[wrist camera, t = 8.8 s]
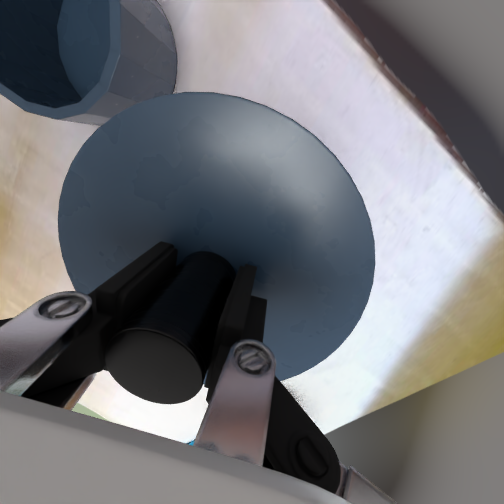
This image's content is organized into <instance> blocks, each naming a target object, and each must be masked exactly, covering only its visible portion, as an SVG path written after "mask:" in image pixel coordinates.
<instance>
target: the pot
mask: <svg viewBox="0 0 504 504" xmlns="http://www.w3.org/2000/svg"><path fill="white" fill-rule="evenodd" d="M176 74H177V56H176V48H175V42H174V38H173V34H172V31H171V28H170V25H169V23H168V20H167V18H166V16H165V14H164V12H163V10H162V8H161V6H160V5H159V3H158V2H157V0H0V94H2V95H3V96H4V97H6V98H7V99H9V100H10V101H12V102H13V103H14V104H16V105H17V106H19V107H20V108H22V109H23V110H24V111H27V112H30V113H33V114H37V115H41V116H45V117H49V118H53V119H56V120H63V121H70V122H77V123H84V124H91V125H98V126H102V125H103V124H104V123H106V122H107V121H108V120H109V119H111V118H112V117H113V116H115V115H116V114H118V113H120V112H122V111H124V110H125V109H127V108H129V107H131V106H133V105H135V104H137V103H140V102H143V101H146V100H149V99H152V98H155V97H158V96H162V95H169V94H172V93H173V89H174V86H175V81H176Z"/></svg>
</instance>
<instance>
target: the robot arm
mask: <svg viewBox="0 0 504 504" xmlns="http://www.w3.org/2000/svg"><path fill="white" fill-rule="evenodd" d="M177 254H178V250H177V249H176V248H175V247H174V245H173V244H170V243H166V242H162V241H160V242H159V243H157V244H156V245H155V246H153V247H152V248H150V249H149V250H148V251H146V252H145V253H144V254H142V255H141V256H140V257H138V258H137V259H135V260H134V261H133V262H131V263H130V264H129V265H127V266H126V267H124V268H123V269H122V270H120V271H119V272H118V273H116V274H115V275H114V276H112V277H111V278H109V279H108V280H107V281H105V282H104V283H103V284H101V285H100V286H98V287H97V288H96V289H95V290H94V291H92V292H91V293H89V294H88V295H87V294H85V293H82V292H76V291H65V292H59V293H54V294H52V295H49V296H46V297H44V298H42V299H41V300H39V301H37V302H36V303H34V304H33V305H32V306H30V307H29V308H27V309H26V310H24V311H23V312H21V313H20V314H19V315H17V316H16V317H14V318H9V319H4V320H0V504H398V503H396V502H395V501H394V500H393V499H391V498H390V497H389V496H388V495H387V494H385V493H384V492H383V491H382V490H380V489H379V488H378V487H377V486H376V485H374V484H373V483H372V482H371V481H369V480H368V479H367V478H366V477H365V476H363V475H362V474H361V473H360V472H358V471H357V470H356V469H355V468H354V467H352V466H351V465H350V466H349V467H348V468H347V467H346V466H344V465H343V464H342V463H341V462H340V461H339V460H338V457H337V455H336V452H335V450H334V448H333V447H332V445H331V444H330V442H329V441H328V439H327V438H326V437H325V436H324V434H323V433H322V432H321V431H320V429H319V428H318V427H317V426H316V425H315V423H314V422H313V421H312V420H311V419H310V417H309V416H308V415H307V414H306V412H305V411H304V410H303V409H302V408H301V406H300V405H299V404H298V403H297V401H296V400H295V399H294V398H293V397H292V395H291V394H290V393H289V392H288V390H287V389H286V388H285V387H284V386H283V384H282V383H281V382H280V381H279V379H278V378H277V377H276V376H275V370H276V359H275V356H274V354H273V352H272V351H271V350H270V348H269V347H268V346H266V345H265V344H264V343H263V336H264V327H265V318H266V308H267V299H263V298H260V297H256V296H252V295H251V293H252V288H253V284H254V279H255V275H256V270H257V267H256V266H252V265H248V264H245V267H243V266H240V267H239V270H238V272H237V275H236V278H235V280H234V283H233V286H232V288H231V291H230V294H229V296H228V299H227V301H226V304H225V307H224V309H223V312H222V315H221V317H220V320H219V324H218V327H217V332H216V336H215V341H214V345H213V350H212V359H211V362H210V365H209V368H208V372H207V377H206V381H205V386H204V387H206V388H209V389H208V393H207V398H206V401H207V403H208V404H209V405H208V408H207V410H206V413H205V415H204V418H203V421H202V423H201V426H200V428H199V431H198V434H197V436H196V439H195V441H194V444H193V446H192V445H189V444H185V443H182V442H178V441H175V440H171V439H168V438H164V437H161V436H158V435H154V434H151V433H147V432H144V431H140V430H137V429H133V428H130V427H126V426H123V425H119V424H116V423H112V422H109V421H105V420H102V419H98V418H95V417H91V416H87V415H84V414H81V413H77V412H73V411H71V410H72V409H73V408H74V406H75V405H76V403H77V402H78V401H79V399H80V398H81V396H82V395H83V394H84V392H85V391H86V389H87V388H88V387H89V385H90V384H91V383H92V381H93V380H94V378H95V376H96V373H97V372H100V371H102V370H106V371H108V369H107V366H106V363H105V359H104V351H105V347H106V344H107V342H108V341H109V339H110V338H111V337H112V336H113V335H114V334H115V333H116V331H117V330H118V329H119V328H120V327H121V326H122V325H123V324H124V323H125V322H126V321H127V320H128V318H129V317H130V316H131V315H132V314H133V313H134V312H135V311H136V310H137V309H138V308H139V307H140V306H141V304H142V303H143V302H144V301H145V300H146V299H147V298H148V297H149V296H150V295H151V294H152V293H153V291H154V290H155V289H156V288H157V287H158V286H159V285H160V284H161V283H162V282H163V281H164V280H165V279H166V277H167V276H168V275H169V274H170V273H171V272H172V271H173V270H174V269H175V268H176V263H177Z"/></svg>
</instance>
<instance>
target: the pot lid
mask: <svg viewBox="0 0 504 504" xmlns="http://www.w3.org/2000/svg"><path fill="white" fill-rule="evenodd" d="M58 232H59V242H60V247H61V252H62V257H63V260H64V263H65V266H66V269H67V273H68V275H69V277H70V279H71V282H72V284H73V286H74V288H75V290H76V292H82V293H85V294H87V295H88V294H89V293H91V292H92V291H94V290H95V289H96V288H97V287H98V286H100V285H101V284H103V283H104V282H105V281H107V280H108V279H109V278H111V277H112V276H114V275H115V274H116V273H118V272H119V271H120V270H122V269H123V268H124V267H126V266H127V265H129V264H130V263H131V262H133V261H134V260H135V259H137V258H138V257H140V256H141V255H142V254H144V253H145V252H146V251H148V250H149V249H150V248H152V247H153V246H155V245H156V244H157V243H159V242H160V241H162V242H166V243H170V244H173V245H174V247H175V248H176V249H177V250H178V254H177V263H176V268H175V269H174V270H173V271H172V272H171V273H170V274H169V275H168V276H167V277H166V279H165V280H164V281H163V282H162V283H161V284H160V285H159V286H158V287H157V288H156V289H155V290H154V291H153V293H152V294H151V295H150V296H149V297H148V298H147V299H146V300H145V301H144V302H143V303H142V304H141V306H140V307H139V308H138V309H137V310H136V311H135V312H134V313H133V314H132V315H131V316H130V317H129V318H128V320H127V321H126V322H125V323H124V324H123V325H122V326H121V327H120V328H119V329H118V330H117V331H116V333H115V334H114V335H113V336H112V337H111V338H110V339H109V341H108V342H107V344H106V347H105V351H104V359H105V363H106V366H107V369H108V371H109V372H110V374H111V375H112V377H113V378H114V379H115V380H116V381H117V382H118V383H119V384H120V385H121V386H122V387H123V388H124V389H126V390H127V391H129V392H130V393H132V394H134V395H136V396H138V397H140V398H142V399H144V400H147V401H151V402H155V403H160V404H177V403H182V402H185V401H187V400H190V399H191V398H193V397H194V396H195V395H196V394H197V393H198V392H199V391H200V389H201V388H202V385H203V384H205V381H206V377H207V372H208V368H209V365H210V362H211V359H212V350H213V345H214V341H215V336H216V332H217V327H218V324H219V320H220V317H221V315H222V312H223V309H224V307H225V304H226V301H227V299H228V296H229V294H230V291H231V288H232V286H233V283H234V280H235V278H236V275H237V272H238V270H239V267H240V266H243V267H245V264H248V265H252V266H256V267H257V270H256V275H255V279H254V284H253V288H252V293H251V295H252V296H256V297H260V298H263V299H267V308H266V318H265V327H264V336H263V343H264V344H265V345H266V346H268V347H269V348H270V350H271V351H272V352H273V354H274V356H275V359H276V370H275V376H276V377H277V378H278V379H279V381H283V380H285V379H288V378H291V377H294V376H296V375H299V374H301V373H303V372H305V371H307V370H309V369H310V368H312V367H314V366H316V365H317V364H318V363H320V362H321V361H323V360H324V359H326V358H327V357H328V356H329V355H331V354H332V353H333V352H334V351H335V350H336V349H337V348H339V347H340V345H341V344H342V343H343V342H344V341H345V340H346V338H347V337H348V336H349V335H350V334H351V332H352V331H353V329H354V328H355V326H356V325H357V323H358V321H359V320H360V318H361V316H362V314H363V311H364V309H365V307H366V305H367V302H368V299H369V295H370V292H371V288H372V285H373V278H374V269H375V243H374V237H373V232H372V227H371V222H370V218H369V215H368V212H367V210H366V207H365V204H364V201H363V199H362V196H361V195H360V193H359V191H358V189H357V187H356V185H355V183H354V182H353V180H352V178H351V176H350V175H349V173H348V172H347V171H346V169H345V168H344V167H343V165H342V164H341V163H340V161H339V160H338V159H337V157H336V156H335V155H334V154H333V153H332V152H331V151H330V150H329V149H328V148H327V147H326V146H325V145H324V144H323V143H322V142H321V141H320V140H319V139H318V138H317V137H316V136H315V135H313V134H312V133H311V132H309V131H308V130H307V129H305V128H304V127H302V126H301V125H300V124H298V123H297V122H295V121H294V120H293V119H291V118H289V117H287V116H285V115H283V114H281V113H279V112H277V111H275V110H274V109H272V108H270V107H268V106H265V105H262V104H259V103H256V102H253V101H250V100H247V99H244V98H241V97H237V96H231V95H225V94H220V93H214V92H182V93H176V94H169V95H162V96H158V97H155V98H152V99H149V100H146V101H143V102H140V103H137V104H135V105H133V106H131V107H129V108H127V109H125V110H124V111H122V112H120V113H118V114H116V115H115V116H113V117H112V118H111V119H109V120H108V121H107V122H106V123H104V124H103V125H102V126H100V127H99V128H98V129H97V130H96V131H95V132H94V133H93V134H92V135H91V136H90V138H89V139H88V140H87V141H86V142H85V143H84V144H83V145H82V147H81V149H80V150H79V152H78V153H77V155H76V157H75V158H74V160H73V161H72V163H71V166H70V168H69V170H68V173H67V175H66V178H65V180H64V183H63V187H62V192H61V196H60V200H59V211H58Z"/></svg>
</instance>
